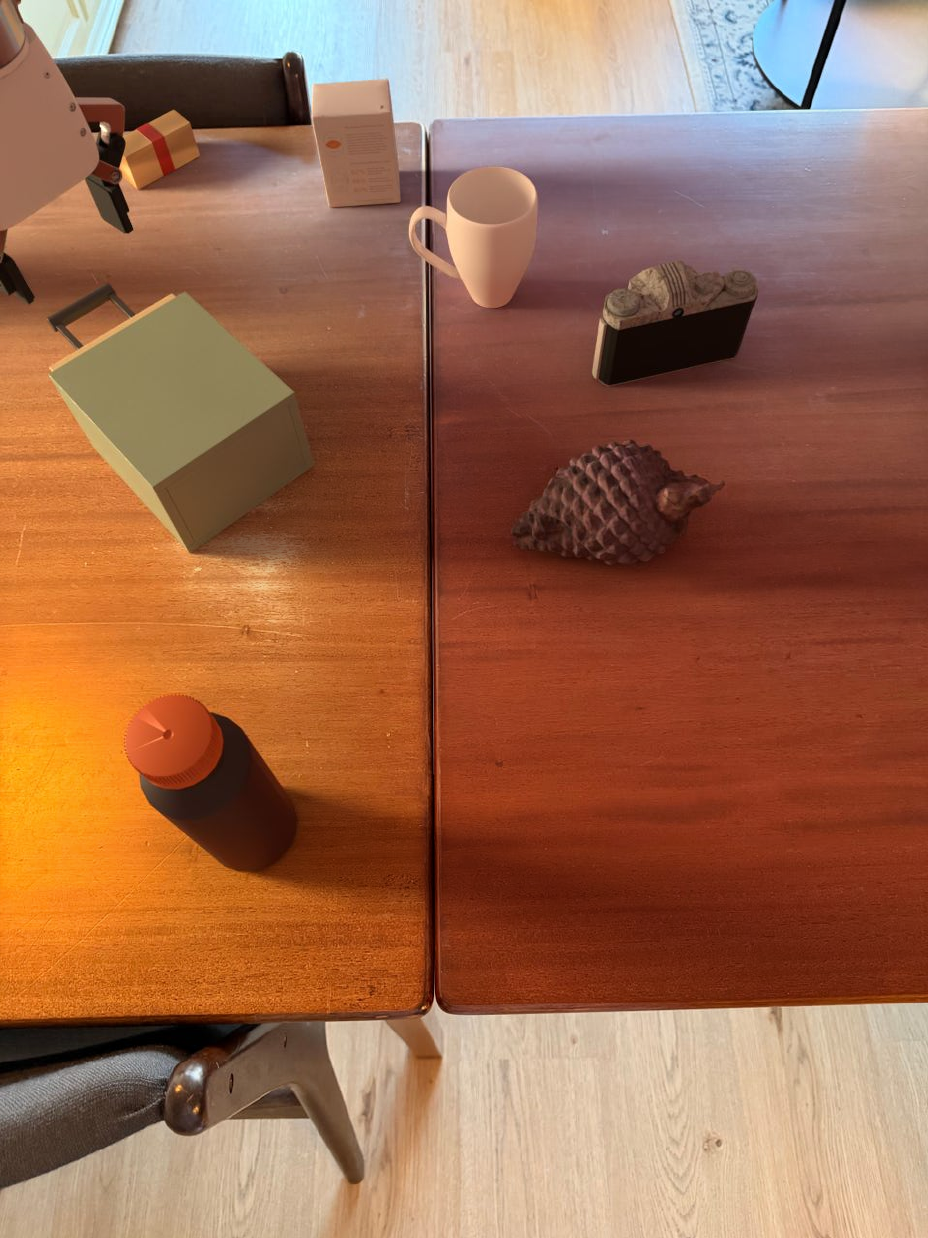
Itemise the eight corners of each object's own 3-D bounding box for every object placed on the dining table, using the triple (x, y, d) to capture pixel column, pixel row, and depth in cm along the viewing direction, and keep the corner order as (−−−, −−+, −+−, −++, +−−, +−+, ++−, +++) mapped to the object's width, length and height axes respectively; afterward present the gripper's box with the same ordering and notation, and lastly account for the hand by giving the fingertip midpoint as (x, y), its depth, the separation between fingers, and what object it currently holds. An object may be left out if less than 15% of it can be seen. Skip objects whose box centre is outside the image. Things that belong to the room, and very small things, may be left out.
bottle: (195, 864, 66) (87, 783, 48) (223, 776, 69) (131, 669, 51) (284, 881, 65) (208, 805, 47) (309, 791, 68) (245, 688, 50)
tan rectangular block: (122, 176, 101) (108, 142, 98) (184, 142, 104) (173, 108, 100) (138, 190, 100) (125, 156, 96) (200, 156, 103) (190, 121, 99)
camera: (717, 308, 90) (742, 223, 81) (744, 358, 87) (773, 275, 78) (576, 339, 88) (586, 256, 80) (598, 391, 85) (611, 310, 77)
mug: (531, 263, 93) (536, 163, 83) (534, 322, 90) (539, 225, 80) (416, 265, 94) (407, 166, 84) (413, 324, 90) (403, 227, 80)
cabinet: (93, 447, 84) (47, 373, 75) (215, 369, 88) (185, 290, 79) (189, 553, 78) (152, 487, 70) (315, 465, 82) (294, 391, 74)
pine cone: (527, 611, 75) (492, 507, 70) (525, 552, 83) (494, 455, 78) (743, 559, 71) (724, 445, 66) (719, 502, 79) (700, 397, 74)
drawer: (45, 383, 86) (6, 321, 79) (156, 316, 90) (128, 251, 83) (173, 523, 79) (142, 468, 72) (288, 443, 82) (270, 384, 75)
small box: (399, 170, 101) (390, 76, 91) (401, 204, 98) (392, 111, 89) (327, 174, 101) (311, 81, 91) (327, 208, 98) (310, 116, 89)
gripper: (31, -52, 59) (124, 180, 74) (-204, 76, 53) (-51, 300, 68) (106, -12, 57) (186, 219, 72) (-131, 127, 51) (10, 347, 66)
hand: (70, 259), depth 70 cm, fingers open, 9 cm apart
